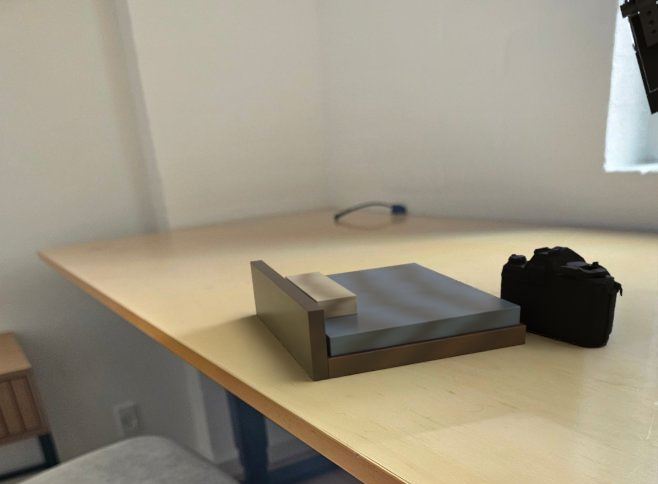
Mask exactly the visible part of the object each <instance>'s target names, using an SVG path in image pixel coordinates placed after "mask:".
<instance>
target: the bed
mask: <svg viewBox="0 0 658 484" xmlns="http://www.w3.org/2000/svg"><path fill="white" fill-rule="evenodd" d="M249 264H250V274H251V280H252V289H253V298H254V306H255V314H256V315H257V317H258V318H259V319H260V320H261V321H262V322H263V323H264V325H265V326H266V327H267V328H268V329H269V331H270V332H271V333H272V334H273V335H274V336H275V337H276V339H277V340H278V341H279V343H280V344H282V346H283V347H284V348H285V349H286V351H287V352H288V353H289V354H290V355H291V356H292V358H293V359H294V360H295V361H296V362H297V363H298V364H299V366H300V367H301V368H302V369H303V371H305V373H306V374H307V375H308V376H309V377H310V378H311V380H312V381H313V382H317V381H322V380H328V379H333V378H339V377H345V376H351V375H356V374H361V373H367V372H372V371H378V370H384V369H390V368H394V367H399V366H405V365H411V364H416V363H417V364H418V363H422V362H429V361H434V360H439V359H446V358H451V357H456V356H462V355H467V354H474V353H479V352H484V351H485V352H486V351H490V350H496V349H501V348H507V347H513V346H517V345H518V346H519V345H524V344H526V334H527V333H526V332H527V331H526V325H524V324H522V323H519V322H520V306H518V305H516V304H513V303H511V302H508V301H506V300H504V299H501V298H500V296H497V295H494V294H492V293H489V292H486V291H483V290H482V289H479V288H477V287H474V286H472V285H469V284H468V283H465V282H462V281H461V280H458V279H456V278H452V277H450V276H448V275H446V274H443V273H440V272H438V271H436V270H434V269H431V268H428V267H426V266H424V265H421V264H419V263H416V262H410V263H403V264H394V265H389V266H388V265H387V266H382V267H375V268H367V269H360V270H352V271H346V272H345V271H344V272H338V273H337V272H336V273H330V274H324V273H322V272H321V271H313V272H312V271H311V272H305V273H297V274H292V275H285V276H283V275H282V274H280V273H279V272H278V271H276V270H275V269H274V268H272V267H271V266H270V265H269V264H268V263H266V262H265V261H264V260H262V259H259V260H251V261H249Z"/></svg>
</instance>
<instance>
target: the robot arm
mask: <svg viewBox="0 0 658 484" xmlns="http://www.w3.org/2000/svg"><path fill="white" fill-rule="evenodd" d="M621 1H622V4H621V5H619V10H620V15H621V18H622V19H623V20H624V19H626V21H627V25H628V29H629V33H630V37H631V41H632V44H631V46H632V49H633V51H634V55H635V59H636V63H637V66H638V69H639V73H640V78H641V81H642V85H643V89H644V92H645V96H646V99H647V103H648V108H649V112H650V115H654V114H657V113H658V3H657V2H658V0H621Z"/></svg>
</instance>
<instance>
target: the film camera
mask: <svg viewBox="0 0 658 484" xmlns="http://www.w3.org/2000/svg"><path fill="white" fill-rule="evenodd" d="M500 277H501V278H500V296H499V298H501V299H504V300H506V301H508V302H511V303H513V304H516V305H518V306H520V322H519V323H522V324H524V325H526V332H530V333H533V334H536V335H539V336H544V337H547V338H550V339H553V340H558V341H560V342H565V343H570V344H572V345H576V346H579V347H584V348H600V347H603V346H605V345H607V343H608V341H609V340H610V335H611V334H612V333H613V326H614V320H615V311H616V305H617V298H618V293H619V297H623V293H624V291H623V290H624V289H623V287H622V286H623V284H622V283H621V282H619V281H616V280H615V277H614V276H612V274H611V273H610V272H609V270H608V269H607V268H606V267H604V266H602V265H601V264H600V263H599V261H598V260H597V261H592V263H589V262H587V261H586V259H585V258H584V257H583V256H582V255H581V254H579V253H578V252H576V251H575V250H574V249H572V248H570V247H568V246H560V245H555V246H554V247H551V248H550V247H548V246H543V247H538V248H535V249H534V250H533V254H532V256H531V257H530V259H529V260H528V259H527V257H526V255H524V254H516V253H511V255H510V256H508V259H507V261H506V263H504V264H503V265H502V269H501V272H500Z"/></svg>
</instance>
